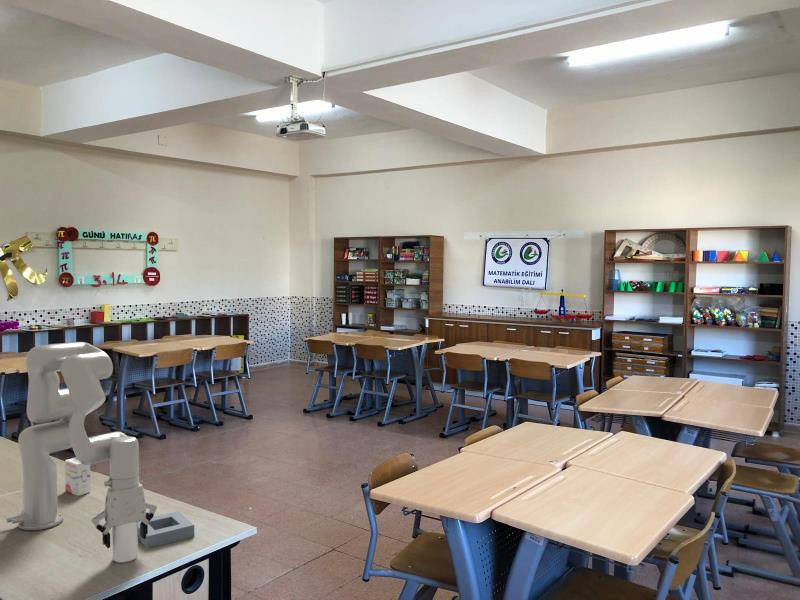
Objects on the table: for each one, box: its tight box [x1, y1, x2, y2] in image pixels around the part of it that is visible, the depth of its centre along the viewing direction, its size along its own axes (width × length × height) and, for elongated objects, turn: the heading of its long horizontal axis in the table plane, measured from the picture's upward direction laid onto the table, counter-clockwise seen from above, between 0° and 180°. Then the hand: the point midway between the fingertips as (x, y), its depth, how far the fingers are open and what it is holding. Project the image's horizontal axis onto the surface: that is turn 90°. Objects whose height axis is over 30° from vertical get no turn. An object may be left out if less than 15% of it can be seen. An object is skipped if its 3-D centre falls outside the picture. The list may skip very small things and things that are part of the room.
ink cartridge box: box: [64, 456, 91, 497], centre depth 236 cm, size 9×5×15 cm, turn 58°
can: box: [112, 522, 139, 564], centre depth 183 cm, size 6×6×12 cm
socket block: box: [137, 510, 195, 549], centre depth 200 cm, size 14×14×4 cm
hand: (125, 541), depth 183 cm, fingers open, 9 cm apart
